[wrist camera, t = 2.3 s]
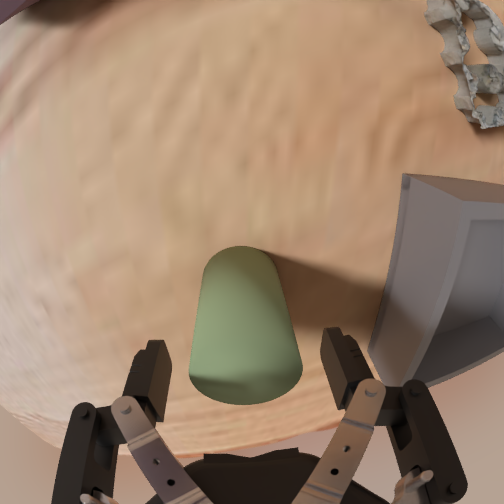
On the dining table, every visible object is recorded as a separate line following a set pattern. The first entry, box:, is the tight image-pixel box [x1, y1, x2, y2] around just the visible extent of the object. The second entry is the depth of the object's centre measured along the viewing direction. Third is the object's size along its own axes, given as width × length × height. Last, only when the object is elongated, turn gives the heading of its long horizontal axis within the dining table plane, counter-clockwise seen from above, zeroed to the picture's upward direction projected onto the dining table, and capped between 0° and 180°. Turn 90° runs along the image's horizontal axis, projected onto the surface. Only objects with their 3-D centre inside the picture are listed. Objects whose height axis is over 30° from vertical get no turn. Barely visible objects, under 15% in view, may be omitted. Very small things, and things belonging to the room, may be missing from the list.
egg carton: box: [424, 0, 504, 129], centre depth 10 cm, size 11×8×4 cm
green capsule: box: [189, 246, 303, 405], centre depth 15 cm, size 5×5×8 cm
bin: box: [367, 174, 504, 388], centre depth 17 cm, size 16×18×6 cm
